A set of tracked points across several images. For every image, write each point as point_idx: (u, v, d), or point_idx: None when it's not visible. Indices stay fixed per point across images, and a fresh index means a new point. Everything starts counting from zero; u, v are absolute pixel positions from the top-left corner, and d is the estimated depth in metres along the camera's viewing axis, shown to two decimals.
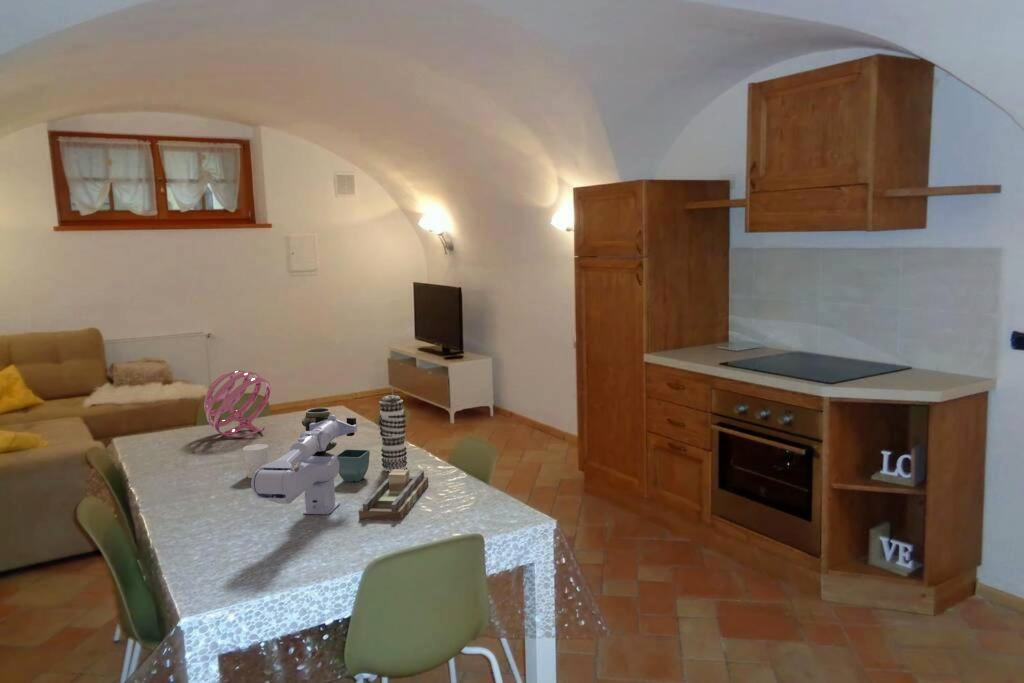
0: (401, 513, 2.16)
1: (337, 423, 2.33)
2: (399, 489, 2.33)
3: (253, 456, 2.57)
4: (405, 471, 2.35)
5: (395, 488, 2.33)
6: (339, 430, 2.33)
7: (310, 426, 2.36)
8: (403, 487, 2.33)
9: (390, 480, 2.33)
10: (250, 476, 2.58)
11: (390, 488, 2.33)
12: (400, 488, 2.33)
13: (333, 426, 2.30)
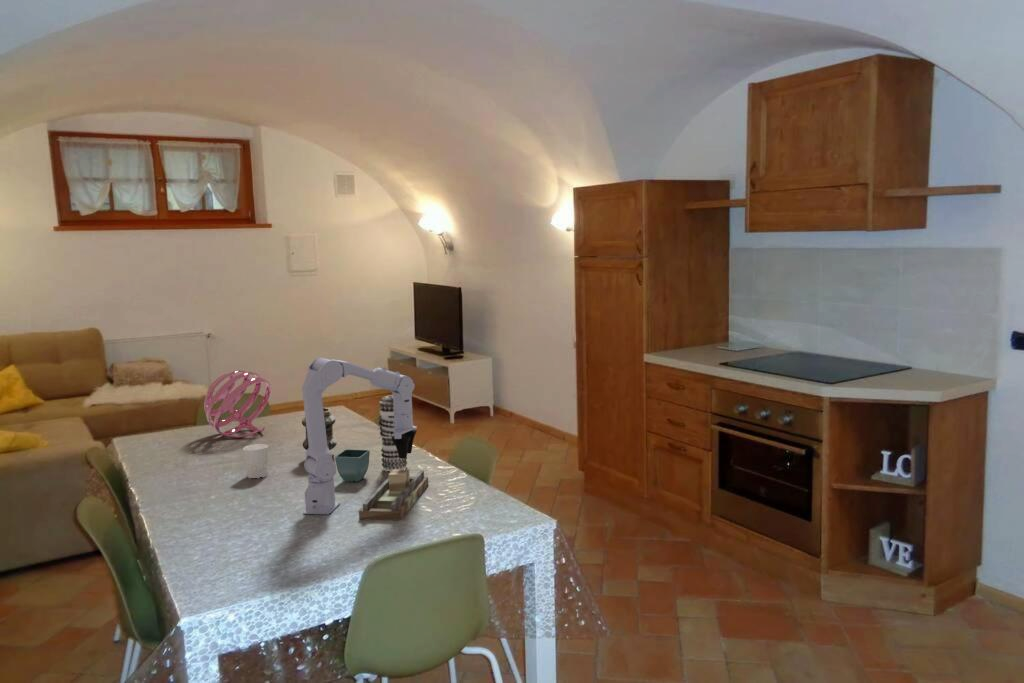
0: (401, 513, 2.16)
1: (407, 426, 2.38)
2: (399, 489, 2.33)
3: (253, 456, 2.57)
4: (405, 471, 2.35)
5: (395, 488, 2.33)
6: (400, 425, 2.38)
7: None
8: (403, 487, 2.33)
9: (390, 480, 2.33)
10: (250, 476, 2.58)
11: (390, 488, 2.33)
12: (400, 488, 2.33)
13: (406, 416, 2.38)
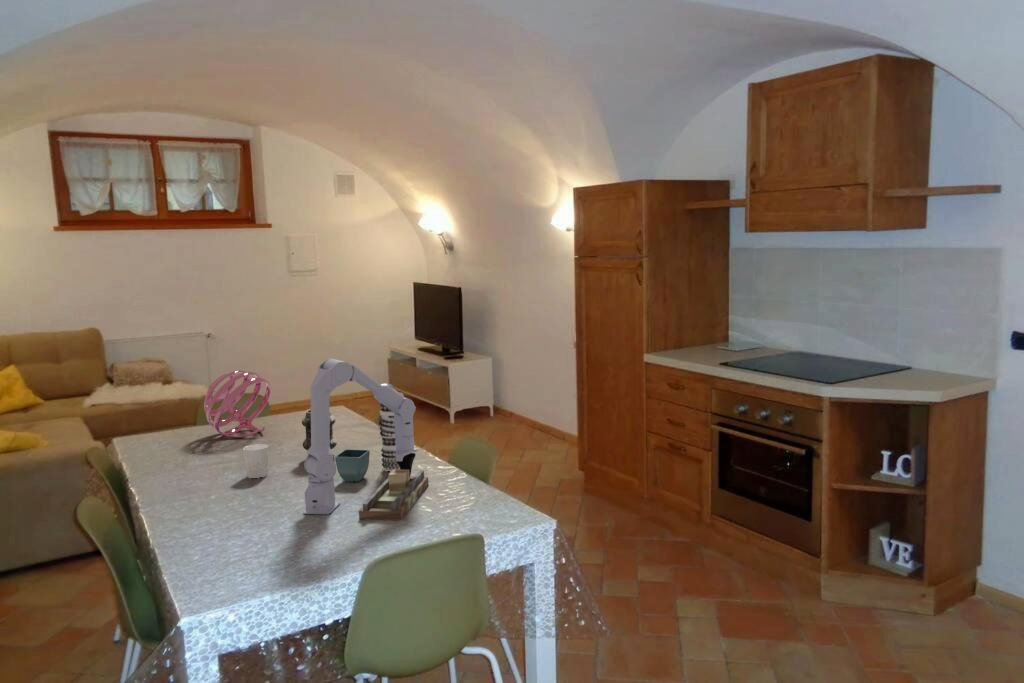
0: (401, 513, 2.16)
1: (408, 448, 2.39)
2: (399, 489, 2.33)
3: (253, 456, 2.57)
4: (405, 471, 2.35)
5: (395, 488, 2.33)
6: (401, 447, 2.39)
7: None
8: (403, 487, 2.33)
9: (390, 480, 2.33)
10: (250, 476, 2.58)
11: (390, 488, 2.33)
12: (400, 488, 2.33)
13: (408, 438, 2.39)
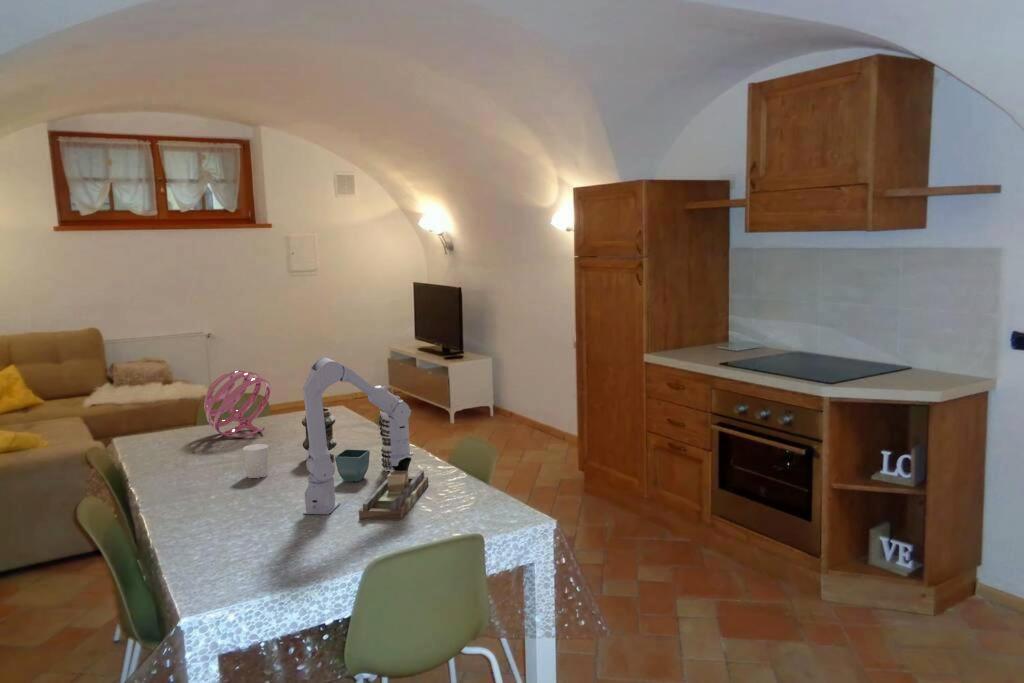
0: (401, 513, 2.16)
1: (404, 452, 2.34)
2: (398, 490, 2.32)
3: (253, 456, 2.57)
4: (404, 472, 2.34)
5: (394, 490, 2.32)
6: (397, 452, 2.34)
7: None
8: (402, 488, 2.31)
9: (389, 481, 2.32)
10: (250, 476, 2.58)
11: (389, 489, 2.32)
12: (399, 489, 2.31)
13: (403, 442, 2.34)
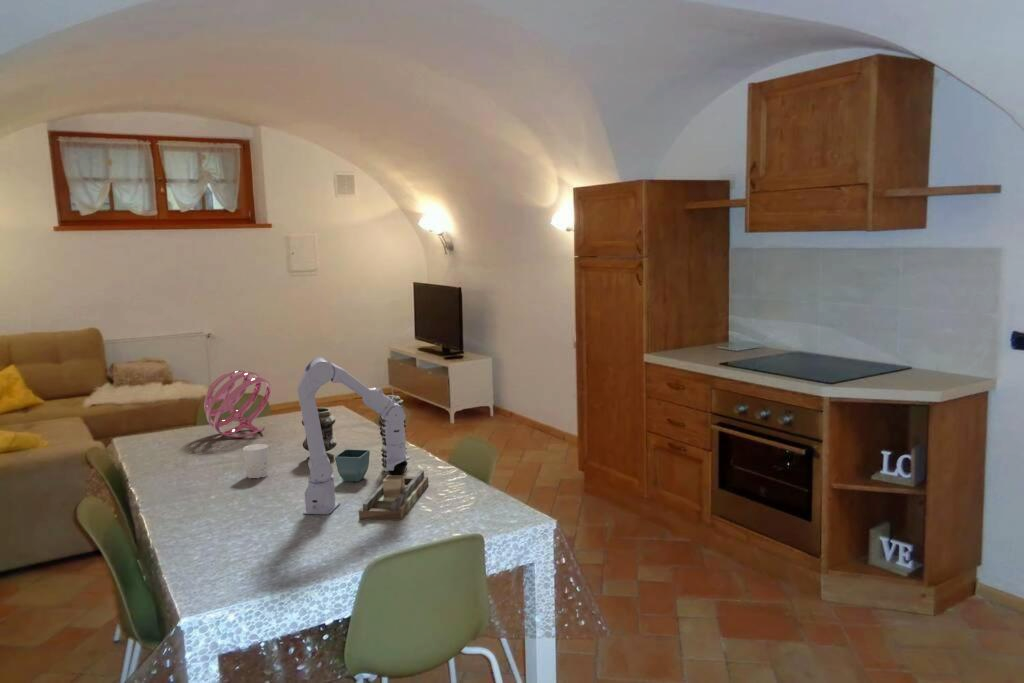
0: (401, 513, 2.16)
1: (400, 456, 2.30)
2: (394, 495, 2.27)
3: (253, 456, 2.57)
4: (400, 477, 2.29)
5: (390, 495, 2.27)
6: (393, 456, 2.30)
7: None
8: (398, 493, 2.27)
9: (384, 486, 2.27)
10: (250, 476, 2.58)
11: (384, 494, 2.27)
12: (395, 494, 2.27)
13: (399, 446, 2.30)
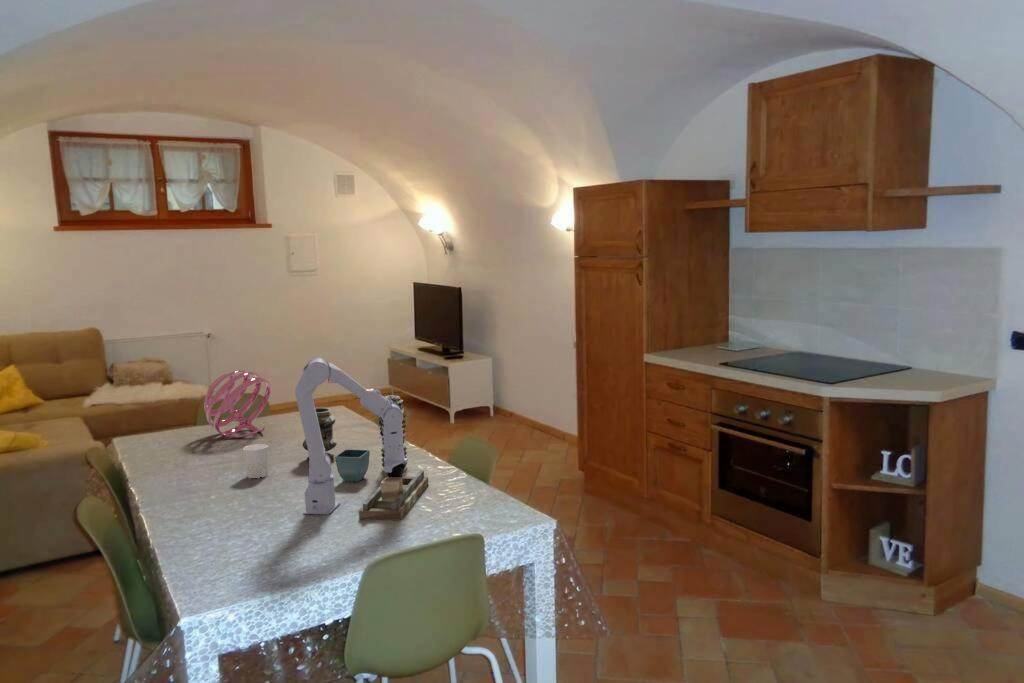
0: (401, 513, 2.16)
1: (398, 458, 2.28)
2: (392, 498, 2.25)
3: (253, 456, 2.57)
4: (398, 479, 2.27)
5: (388, 497, 2.25)
6: (391, 458, 2.28)
7: None
8: (396, 496, 2.25)
9: (382, 489, 2.25)
10: (250, 476, 2.58)
11: (382, 497, 2.25)
12: (393, 497, 2.25)
13: (397, 448, 2.28)
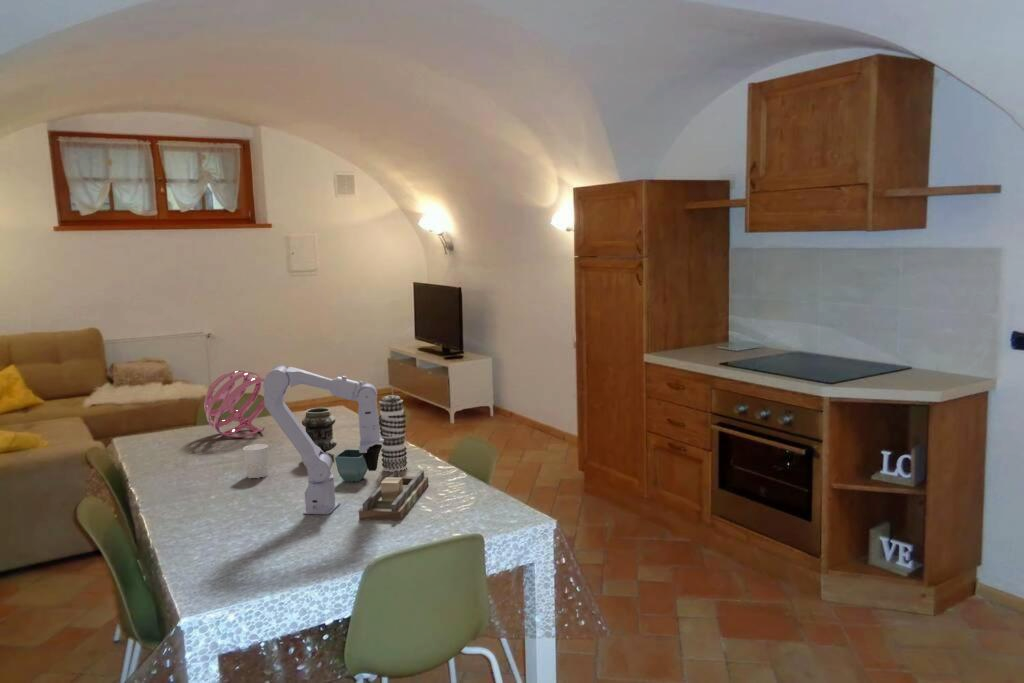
0: (401, 513, 2.16)
1: (374, 439, 2.24)
2: (392, 498, 2.25)
3: (253, 456, 2.57)
4: (398, 479, 2.27)
5: (388, 497, 2.25)
6: (366, 438, 2.24)
7: None
8: (396, 496, 2.25)
9: (382, 488, 2.25)
10: (250, 476, 2.58)
11: (382, 497, 2.25)
12: (393, 497, 2.25)
13: (372, 428, 2.24)
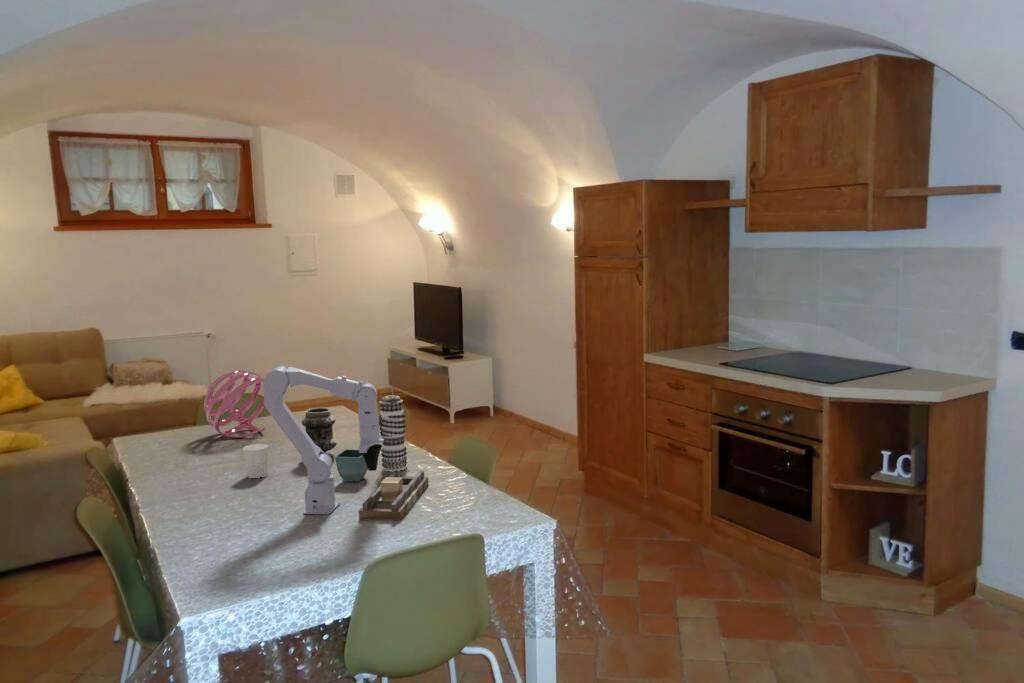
0: (401, 513, 2.16)
1: (373, 438, 2.24)
2: (392, 498, 2.25)
3: (253, 456, 2.57)
4: (398, 479, 2.27)
5: (388, 497, 2.25)
6: (366, 438, 2.24)
7: None
8: (396, 496, 2.25)
9: (382, 488, 2.25)
10: (250, 476, 2.58)
11: (382, 497, 2.25)
12: (393, 497, 2.25)
13: (372, 428, 2.24)
